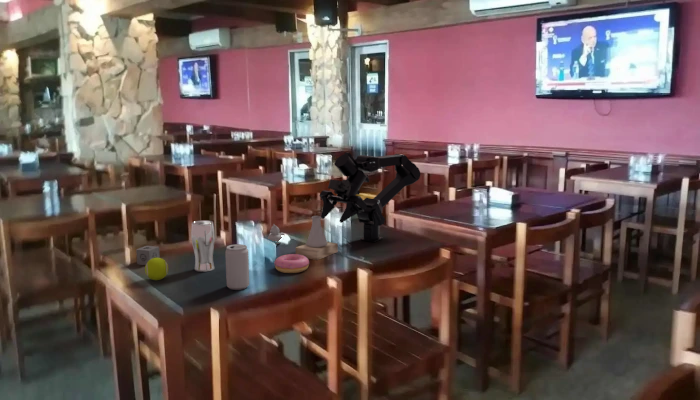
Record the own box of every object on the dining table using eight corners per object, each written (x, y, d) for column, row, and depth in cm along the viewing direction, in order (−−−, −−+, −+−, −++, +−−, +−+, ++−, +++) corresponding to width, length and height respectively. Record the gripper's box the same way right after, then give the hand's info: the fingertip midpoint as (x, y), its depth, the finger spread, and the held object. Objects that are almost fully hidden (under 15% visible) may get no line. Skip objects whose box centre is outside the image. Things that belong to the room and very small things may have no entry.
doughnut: (316, 269, 186) (316, 257, 185) (287, 277, 179) (287, 263, 178) (295, 262, 194) (295, 250, 193) (267, 269, 187) (267, 256, 186)
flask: (331, 244, 204) (331, 216, 202) (318, 249, 198) (318, 219, 196) (314, 241, 208) (314, 213, 206) (301, 246, 202) (301, 217, 200)
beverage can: (228, 283, 172) (226, 243, 170) (250, 283, 173) (249, 243, 171) (225, 291, 166) (223, 249, 164) (248, 290, 166) (247, 249, 164)
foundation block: (316, 248, 210) (316, 240, 210) (337, 251, 206) (337, 243, 205) (295, 256, 200) (295, 247, 200) (317, 260, 196) (317, 251, 195)
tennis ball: (145, 277, 178) (143, 256, 177) (168, 275, 180) (166, 254, 179) (146, 284, 172) (144, 262, 171) (170, 281, 174) (168, 259, 173)
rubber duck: (264, 243, 217) (264, 222, 215) (280, 241, 221) (280, 220, 219) (272, 247, 212) (271, 225, 211) (288, 244, 216) (287, 222, 215)
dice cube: (147, 260, 197) (146, 245, 196) (159, 261, 195) (159, 246, 194) (137, 264, 192) (136, 249, 191) (150, 265, 190) (149, 250, 190)
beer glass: (220, 267, 188) (218, 220, 186) (208, 273, 182) (205, 225, 179) (201, 265, 191) (199, 219, 188) (188, 271, 184) (186, 224, 182)
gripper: (322, 168, 213) (300, 203, 207) (360, 173, 200) (337, 210, 194) (338, 186, 220) (317, 221, 214) (376, 192, 207) (354, 229, 201)
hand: (331, 220), depth 206 cm, fingers open, 9 cm apart
